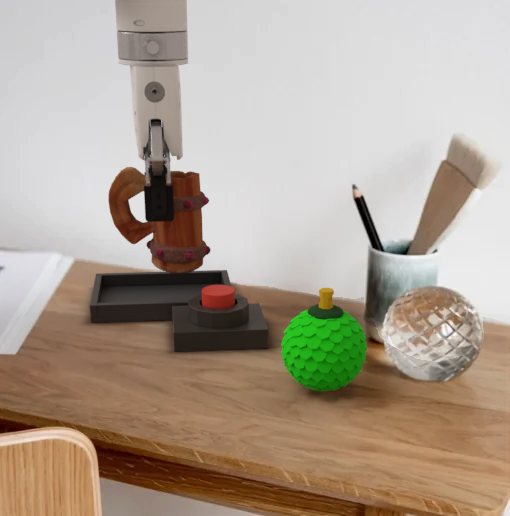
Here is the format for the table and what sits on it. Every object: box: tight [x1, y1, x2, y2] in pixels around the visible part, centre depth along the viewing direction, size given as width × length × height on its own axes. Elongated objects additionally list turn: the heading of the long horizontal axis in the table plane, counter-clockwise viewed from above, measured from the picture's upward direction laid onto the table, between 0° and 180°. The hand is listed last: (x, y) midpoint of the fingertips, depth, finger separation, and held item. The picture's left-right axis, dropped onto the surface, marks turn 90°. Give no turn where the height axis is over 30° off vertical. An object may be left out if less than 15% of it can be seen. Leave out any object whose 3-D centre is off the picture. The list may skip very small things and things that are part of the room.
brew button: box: [202, 285, 236, 309], centre depth 91 cm, size 4×4×2 cm
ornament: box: [280, 287, 368, 392], centre depth 79 cm, size 8×8×10 cm
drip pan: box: [89, 269, 232, 323], centre depth 102 cm, size 17×12×2 cm
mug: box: [107, 166, 212, 274], centre depth 98 cm, size 12×6×12 cm, turn 86°
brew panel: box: [172, 293, 269, 353], centre depth 92 cm, size 10×8×4 cm
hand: (159, 211), depth 98 cm, fingers closed on mug, 6 cm apart
